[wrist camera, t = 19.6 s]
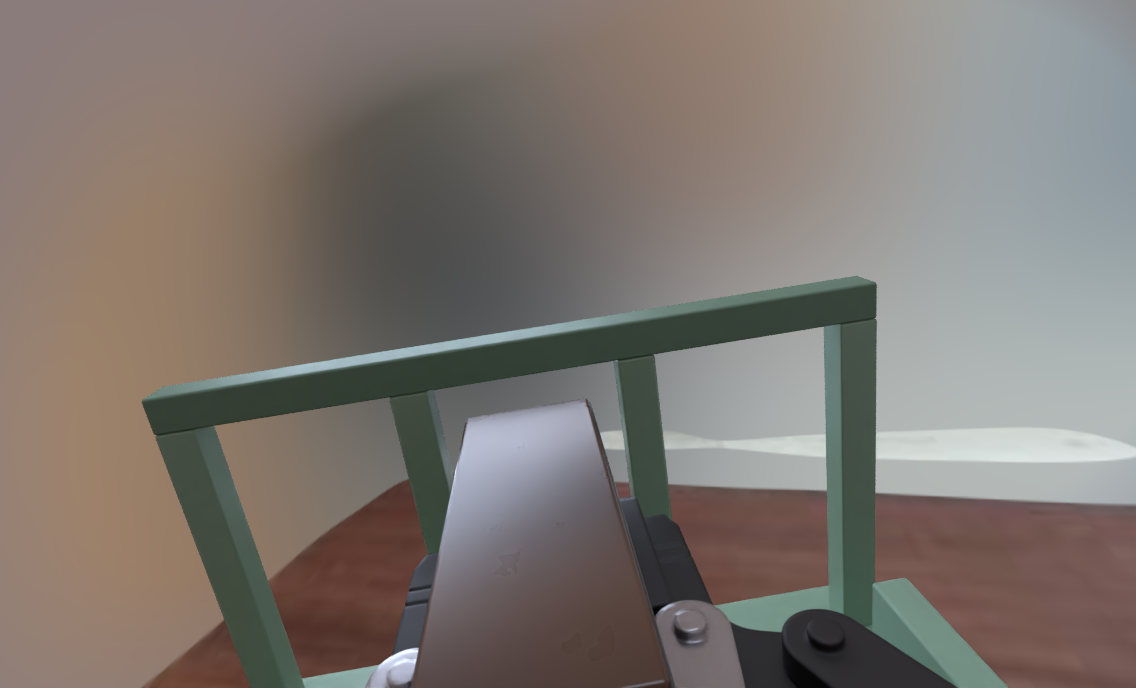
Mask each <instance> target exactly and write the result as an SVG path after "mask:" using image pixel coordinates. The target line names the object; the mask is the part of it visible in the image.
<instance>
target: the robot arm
mask: <svg viewBox="0 0 1136 688" xmlns="http://www.w3.org/2000/svg"><path fill="white" fill-rule="evenodd" d="M620 503H621V506H622V509H623V513H624V516H625V519H626V523H627V526H628V529H629V533H630V536H631V539H632V543H633V546H634V549H635V553H636V556H637V559H638V563H639V566H640V569H641V573H642V576H643V579H644V583H645V586H646V589H647V593H648V596H649V599H650V603H651V606H652V609H653V613H654V616H655V620H656V623H657V626H658V630H659V633H660V636H661V640H662V643H663V646H664V650H665V653H666V656H667V660H668V663H669V666H670V670H671V673H672V676H673V680H674V683H675V686H676V688H958V687H956V686H955V685H953V684H951V683H950V682H948V681H947V680H945V679H944V678H942V677H941V676H939V675H938V674H936V673H935V672H933V671H932V670H930V669H929V668H927V667H925V666H924V665H922V664H921V663H919V662H918V661H916V660H915V659H913V658H912V657H910V656H909V655H907V654H906V653H904V652H903V651H901V650H899V649H898V648H896V647H895V646H893V645H892V644H890V643H889V642H887V641H886V640H884V639H883V638H881V637H880V636H878V635H877V634H875V633H873V632H872V631H870V630H869V629H867V628H866V627H864V626H863V625H861V624H860V623H858V622H857V621H855V620H854V619H852V618H850V617H848V616H846V615H844V614H842V613H839V612H835V611H832V610H826V609H808V610H803V611H800V612H797V613H795V614H794V615H792V616H791V617H789V618H788V619H787V620H786V622H785V623H784V625H783V627H782V632H773V631H760V630H753V629H748V628H744V627H741V626H738V625H736V624H734V623H732V622H730V621H729V619H728V618H727V616H726V615H725V614H724V613H723V612H722V611H721V610H720V609H719V608H717V607H715V606H714V605H713V604H712V601H711V599H710V597H709V594H708V592H707V590H706V588H705V585H704V583H703V581H702V578H701V576H700V574H699V572H698V569H697V567H696V565H695V563H694V560H693V558H692V557H691V553H690V551H689V549H688V547H687V544H686V543H685V540H684V537H683V535H682V533H681V531H680V528H679V526H678V525H677V524H676V523H674V522H673V521H672V520H670V519H669V518H668V517H667V516H665V515H664V514H661V515H655V516H649V517H643V514H642V511H641V508H640V505H639V502H638V499H637V497H636V496H632V497H626V498H620ZM437 558H438V553H434V554H428V555H426V556H425V558H424V559H423V560H422V561H421V563H420V564H419V565H418V566H417V568H416V569H415V570H414V571H413V575H412V579H411V583H410V587H409V592H408V595H407V598H406V602H405V607H404V610H403V614H402V618H401V622H400V626H399V629H398V633H397V637H396V641H395V645H394V649H393V653H392V656H391V657H390V658H388V659H387V660H385V661H384V662H383V663H381V664H380V665H379V666H378V667H377V668H376V669H375V671H374V672H373V673H372V674H371V676H370V678H369V679H368V681H367V684H366V687H365V688H411V683H412V678H413V673H414V669H415V664H416V659H417V654H418V649H419V644H420V640H421V635H422V630H423V625H424V620H425V616H426V611H427V606H428V601H429V596H430V591H431V587H432V582H433V577H434V572H435V567H436V562H437Z"/></svg>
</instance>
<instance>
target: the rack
mask: <svg viewBox="0 0 1136 688" xmlns="http://www.w3.org/2000/svg"><path fill="white" fill-rule="evenodd" d="M876 288H877V286H876V283H875V282H873V281H870V280H867V279H864V278H861V277H858V276H853V277H847V278H841V279H834V280H828V281H822V282H816V283H809V284H803V285H797V286H791V287H784V288H778V289H772V290H766V291H760V292H753V293H747V294H741V295H735V296H728V297H722V298H716V299H710V300H703V301H697V302H691V303H685V304H678V305H672V306H666V307H659V308H653V309H647V310H641V311H635V312H628V313H622V314H616V315H610V316H603V317H597V318H591V319H584V320H578V321H572V322H566V323H559V324H553V325H547V326H541V327H535V328H528V329H522V330H516V331H510V332H503V333H497V334H491V335H484V336H478V337H472V338H466V339H459V340H453V341H447V342H441V343H435V344H428V345H422V346H416V347H409V348H404V349H397V350H391V351H384V352H378V353H372V354H366V355H359V356H353V357H347V358H341V359H334V360H328V361H322V362H317V363H309V364H303V365H297V366H291V367H285V368H278V369H272V370H266V371H260V372H253V373H247V374H241V375H234V376H229V377H222V378H216V379H210V380H204V381H197V382H191V383H185V384H178V385H172V386H166V387H162V388H161V389H159V390H157V391H156V392H154V393H153V394H151V395H150V396H148V397H146V398H145V399H143V400H142V404H143V407H144V410H145V412H146V415H147V417H148V420H149V423H150V425H151V428H152V431H153V433H154V434H155V435H157V436H156V441H157V444H158V446H159V449H160V451H161V454H162V456H163V459H164V462H165V464H166V467H167V470H168V472H169V475H170V477H171V480H172V483H173V486H174V488H175V491H176V493H177V496H178V499H179V501H180V504H181V506H182V509H183V512H184V514H185V517H186V520H187V522H188V525H189V528H190V530H191V533H192V535H193V538H194V541H195V543H196V546H197V549H198V551H199V554H200V556H201V559H202V562H203V564H204V567H205V569H206V572H207V575H208V578H209V580H210V583H211V585H212V588H213V591H214V593H215V596H216V599H217V601H218V604H219V606H220V609H221V612H222V614H223V617H224V620H225V622H226V625H227V627H228V630H229V633H230V635H231V638H232V641H233V643H234V646H235V648H236V651H237V654H238V656H239V659H240V662H241V664H242V667H243V669H244V672H245V675H246V677H247V680H248V683H249V685H250V688H365V687H366V684H367V681H368V679H369V678H370V676H371V674H372V673H373V672H374V671H375V669H376V668H377V667H378V666H379V665H377V666H371V667H366V668H360V669H354V670H349V671H343V672H337V673H332V674H326V675H320V676H315V677H309V678H303V679H302V678H301V675H300V672H299V669H298V666H297V663H296V660H295V658H294V655H293V652H292V649H291V646H290V643H289V640H288V637H287V634H286V632H285V629H284V626H283V623H282V620H281V617H280V614H279V611H278V609H277V606H276V603H275V600H274V597H273V594H272V591H271V588H270V585H269V583H268V580H267V577H266V574H265V571H264V568H263V565H262V562H261V560H260V557H259V554H258V551H257V548H256V545H255V542H254V539H253V537H252V534H251V531H250V528H249V525H248V522H247V519H246V517H245V514H244V511H243V508H242V505H241V502H240V499H239V496H238V493H237V490H236V488H235V485H234V482H233V479H232V476H231V473H230V470H229V467H228V464H227V461H226V459H225V456H224V453H223V450H222V447H221V444H220V442H219V439H218V436H217V433H216V430H215V427H214V425H221V424H227V423H234V422H240V421H246V420H252V419H257V418H264V417H270V416H277V415H283V414H289V413H295V412H301V411H307V410H313V409H320V408H326V407H332V406H338V405H344V404H350V403H357V402H363V401H369V400H375V399H381V398H387V397H390V399H389V400H390V404H391V408H392V413H393V417H394V420H395V424H396V429H397V432H398V436H399V441H400V445H401V449H402V453H403V457H404V460H405V465H406V469H407V473H408V477H409V481H410V485H411V489H412V493H413V497H414V501H415V505H416V509H417V513H418V517H419V521H420V525H421V529H422V533H423V537H424V541H425V545H426V549H427V553H428V554H434V553H439V548H440V543H441V538H442V534H443V529H444V524H445V519H446V514H447V509H448V505H449V500H450V495H451V490H452V485H453V480H454V477H453V472H452V468H451V463H450V459H449V454H448V450H447V445H446V441H445V437H444V433H443V428H442V424H441V419H440V414H439V410H438V406H437V401H436V396H435V392H434V390H437V389H442V388H449V387H454V386H461V385H467V384H474V383H480V382H485V381H492V380H498V379H504V378H510V377H517V376H523V375H528V374H535V373H541V372H547V371H553V370H560V369H566V368H572V367H578V366H584V365H590V364H596V363H602V362H609V361H614V368H615V377H616V384H617V392H618V399H619V407H620V415H621V423H622V431H623V439H624V447H625V454H626V462H627V469H628V478H629V486H630V493H631V497H632V496H636V497H637V499H638V502H639V505H640V508H641V511H642V514H643V517H649V516H655V515H661V514H664V515H665V516H667V517H668V518H669V519H670V520H672V515H671V505H670V496H669V487H668V477H667V469H666V459H665V449H664V440H663V430H662V422H661V412H660V402H659V393H658V384H657V375H656V366H655V357H654V355H653V354H658V353H664V352H670V351H677V350H683V349H689V348H695V347H701V346H707V345H713V344H719V343H725V342H731V341H738V340H744V339H750V338H756V337H762V336H769V335H775V334H781V333H787V332H793V331H799V330H806V329H811V328H818V327H824V361H825V408H826V409H825V414H826V466H827V518H828V570H829V586H823V587H817V588H812V589H806V590H800V591H795V592H789V593H783V594H778V595H772V596H767V597H761V598H755V599H750V600H744V601H738V602H733V603H727V604H721V605H716V606H715V607H717V608H719V609H720V610H721V611H722V612H723V613H724V614H725V615H726V616H727V618H728V619H729V621H730V622H732V623H734V624H736V625H738V626H741V627H744V628H748V629H753V630H760V631H773V632H782V627H783V625H784V623H785V622H786V620H787V619H788V618H789V617H791V616H792V615H794V614H795V613H797V612H800V611H803V610H808V609H826V610H832V611H835V612H839V613H842V614H844V615H846V616H848V617H850V618H852V619H854V620H855V621H857V622H858V623H860V624H861V625H863V626H864V627H866V628H867V629H869V630H870V631H872V632H873V633H875V634H877V635H878V636H880V637H881V638H883V639H884V640H886V641H887V642H889V643H890V644H892V645H893V646H895V647H896V648H898V649H899V650H901V651H903V652H904V653H906V654H907V655H909V656H910V657H912V658H913V659H915V660H916V661H918V662H919V663H921V664H922V665H924V666H925V667H927V668H929V669H930V670H932V671H933V672H935V673H936V674H938V675H939V676H941V677H942V678H944V679H945V680H947V681H948V682H950V683H951V684H953V685H955V686H956V687H958V688H1008V687H1007V685H1006V684H1005V683H1004V682H1003V681H1002V680H1001V679H1000V678H999V677H998V676H997V675H996V674H995V673H994V671H993V670H992V669H991V668H990V667H989V666H988V665H987V664H986V663H985V662H984V661H983V660H982V659H981V658H980V656H979V655H978V654H977V653H976V652H975V651H974V650H973V649H972V648H971V647H970V646H969V645H968V644H967V642H966V641H965V640H964V639H963V638H962V637H961V636H960V635H959V634H958V633H957V632H956V631H955V630H954V629H953V627H952V626H951V625H950V624H949V623H948V622H947V621H946V620H945V619H944V618H943V617H942V616H941V615H940V613H939V612H938V611H937V610H936V609H935V608H934V607H933V606H932V605H931V604H930V603H929V602H928V601H927V600H926V598H925V597H924V596H923V595H922V594H921V593H920V592H919V591H918V590H917V589H916V588H915V587H914V586H913V585H912V583H911V582H910V581H909V580H908V579H906V578H900V579H894V580H888V581H883V582H877V583H875V462H876V331H877V330H876V329H877V328H876V327H877V321H876V319H875V318H876Z"/></svg>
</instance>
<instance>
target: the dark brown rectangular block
mask: <svg viewBox="0 0 1136 688" xmlns="http://www.w3.org/2000/svg"><path fill="white" fill-rule="evenodd" d="M411 688H676V686H675V683H674V680H673V676H672V673H671V670H670V666H669V663H668V660H667V656H666V653H665V650H664V646H663V643H662V640H661V636H660V633H659V630H658V626H657V623H656V620H655V616H654V613H653V609H652V606H651V603H650V599H649V596H648V593H647V589H646V586H645V583H644V579H643V576H642V573H641V569H640V566H639V563H638V559H637V556H636V553H635V549H634V546H633V543H632V539H631V536H630V533H629V529H628V526H627V523H626V519H625V516H624V513H623V509H622V506H621V503H620V499H619V496H618V493H617V489H616V486H615V483H614V479H613V476H612V473H611V469H610V466H609V463H608V459H607V456H606V453H605V449H604V446H603V443H602V439H601V436H600V432H599V429H598V426H597V422H596V419H595V416H594V412H593V409H592V406H591V403H590V402H589V401H588V400H587V399H579V400H573V401H567V402H562V403H555V404H550V405H544V406H538V407H532V408H526V409H520V410H514V411H508V412H502V413H496V414H490V415H484V416H478V417H472V418H468V419H467V420H466V423H465V427H464V433H463V437H462V442H461V447H460V452H459V456H458V461H457V466H456V471H455V476H454V480H453V485H452V490H451V495H450V500H449V505H448V509H447V514H446V519H445V524H444V529H443V534H442V538H441V543H440V548H439V553H438V558H437V562H436V567H435V572H434V577H433V582H432V587H431V591H430V596H429V601H428V606H427V611H426V616H425V620H424V625H423V630H422V635H421V640H420V644H419V649H418V654H417V659H416V664H415V669H414V673H413V678H412V683H411Z"/></svg>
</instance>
